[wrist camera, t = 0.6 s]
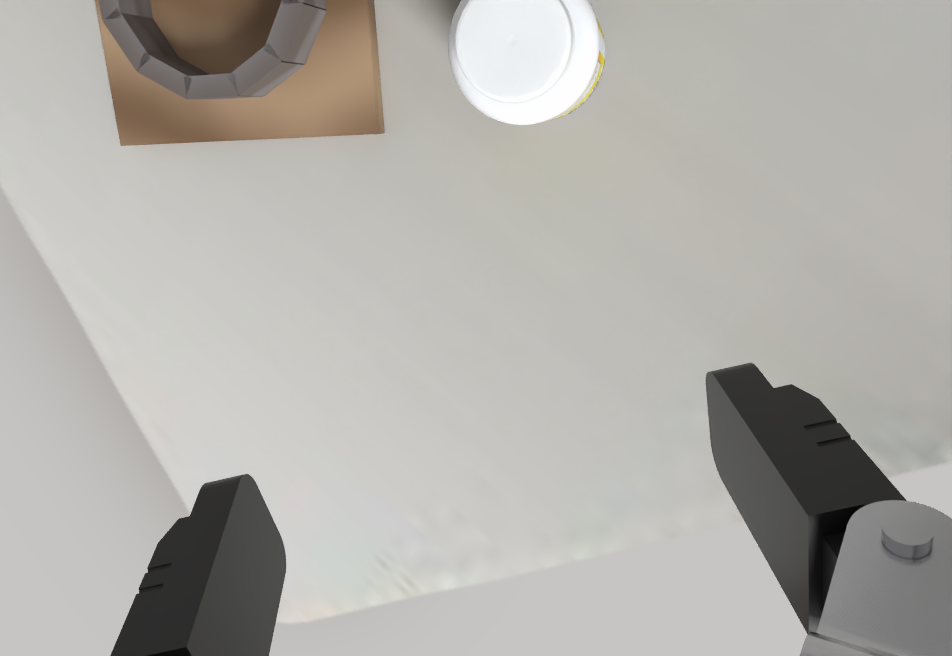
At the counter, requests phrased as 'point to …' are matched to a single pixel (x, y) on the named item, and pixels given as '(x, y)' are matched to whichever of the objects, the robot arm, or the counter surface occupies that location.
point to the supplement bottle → (526, 57)
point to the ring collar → (241, 69)
